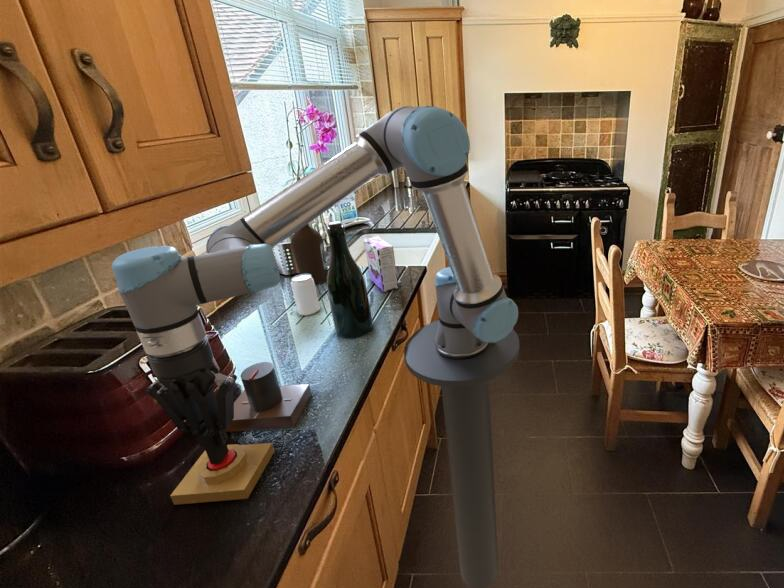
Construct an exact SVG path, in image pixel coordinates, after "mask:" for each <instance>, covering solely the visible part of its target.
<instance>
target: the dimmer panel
mask: <svg viewBox="0 0 784 588" xmlns="http://www.w3.org/2000/svg"><path fill="white" fill-rule="evenodd" d="M279 386H280V389H281V393H282V399H281V401H280V402H279V403H278V404H277V405H275V406H274V407H272V408H270V409H267V410H264V411H254V410H252V409H251V407H250V404H249V401H248V398H247V395H246V392H245V389H243V391H242V392H241V393H240V394H239V396H238V397H237V398H236V400H235V401H234V419H233V420H232V421H231V422H230V424H229V425H228V426H227V428H226V429H225V431H226V433H234V432H246V431H260V430H274V429H289V428H294V427H295V426H296V424H297V422H298V420H299V419H300V416H301V414H302V413H303V412H304V409H305V407H306V406H307V404H308V402H309V400H310V398H311V397H312V394H313V393H312V390H311V386H310V383H304V384H302V383H301V384H289V385H287V384H286V385H279Z"/></svg>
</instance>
